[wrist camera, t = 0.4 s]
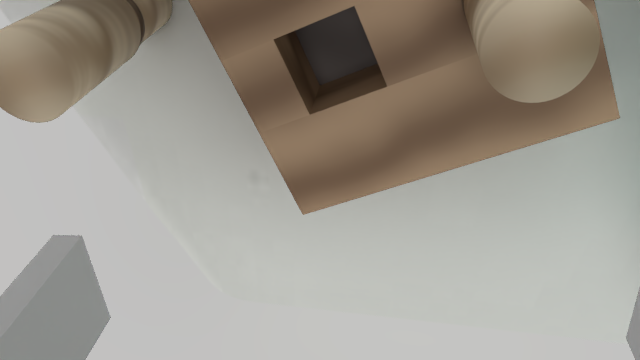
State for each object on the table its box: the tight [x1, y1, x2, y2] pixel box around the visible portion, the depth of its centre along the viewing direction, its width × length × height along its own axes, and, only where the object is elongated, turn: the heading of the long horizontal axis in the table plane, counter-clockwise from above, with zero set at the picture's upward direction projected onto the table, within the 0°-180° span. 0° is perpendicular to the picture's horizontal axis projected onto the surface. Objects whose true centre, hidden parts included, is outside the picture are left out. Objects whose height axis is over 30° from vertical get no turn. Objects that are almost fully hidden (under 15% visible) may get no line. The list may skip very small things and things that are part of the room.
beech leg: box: [0, 0, 172, 123], centre depth 32 cm, size 4×4×14 cm
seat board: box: [188, 0, 620, 215], centre depth 30 cm, size 18×20×14 cm
